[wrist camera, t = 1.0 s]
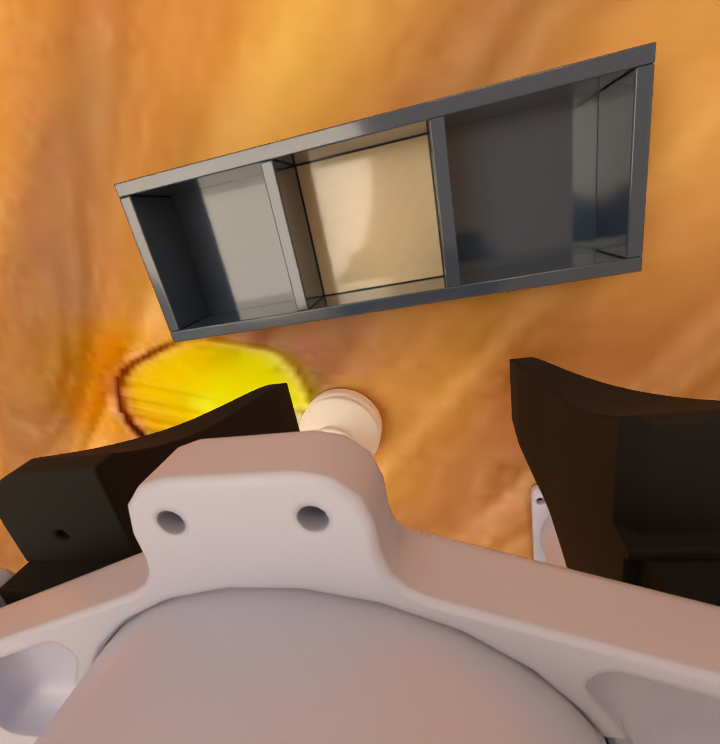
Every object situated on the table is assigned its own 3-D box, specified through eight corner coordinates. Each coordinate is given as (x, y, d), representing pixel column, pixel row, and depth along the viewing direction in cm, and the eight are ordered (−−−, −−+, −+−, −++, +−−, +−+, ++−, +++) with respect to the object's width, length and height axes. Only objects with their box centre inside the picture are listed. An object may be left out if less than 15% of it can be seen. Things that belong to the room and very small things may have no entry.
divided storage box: (604, 259, 19) (642, 271, 16) (209, 323, 24) (173, 342, 21) (610, 73, 17) (657, 40, 13) (162, 187, 21) (113, 183, 18)
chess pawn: (341, 467, 27) (303, 584, 19) (290, 415, 26) (226, 513, 18) (399, 429, 25) (385, 540, 17) (346, 371, 24) (304, 459, 16)
